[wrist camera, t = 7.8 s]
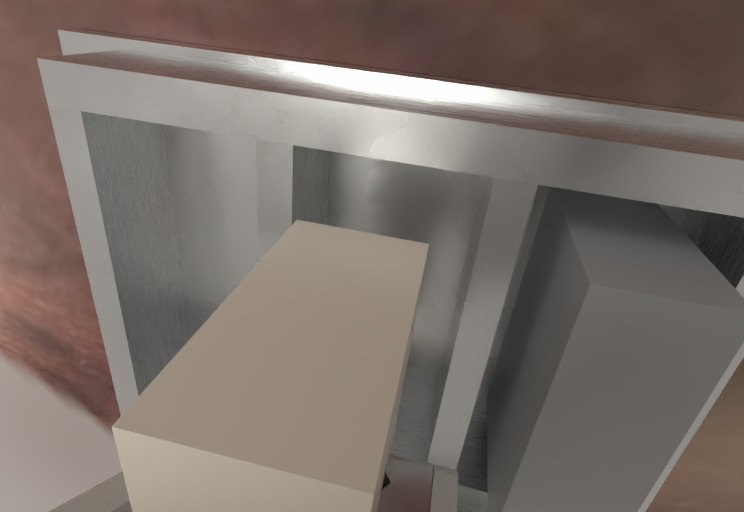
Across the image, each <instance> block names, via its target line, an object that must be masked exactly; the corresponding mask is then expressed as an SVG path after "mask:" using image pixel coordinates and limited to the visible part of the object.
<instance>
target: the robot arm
mask: <svg viewBox="0 0 744 512" xmlns="http://www.w3.org/2000/svg"><path fill="white" fill-rule="evenodd" d="M457 496H458V472H457V470H455V469H451V468H447V467H443V466H439V465H433V463H429V462H424V461H420V460H416V459H411V458H407V457H403V456H398V455H394V454H390V453H389V456H388V461H387V465H386V470H385V476H384V481H383V487H382V490H381V494H380V499H379V504H378V509H377V512H457ZM50 512H132V508H131V504H130V500H129V496H128V492H127V487H126V483H125V479H124V475H123V472H121V473H119V474H117V475H115V476H113V477H112V478H110V479H108V480H106V481H104V482H102V483H101V484H99V485H97V486H95V487H93V488H91V489H90V490H88V491H86V492H84V493H82V494H80V495H79V496H77V497H75V498H73V499H71V500H69V501H67V502H66V503H64V504H62V505H60V506H58V507H57V508H55V509H53V510H51V511H50Z"/></svg>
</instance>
